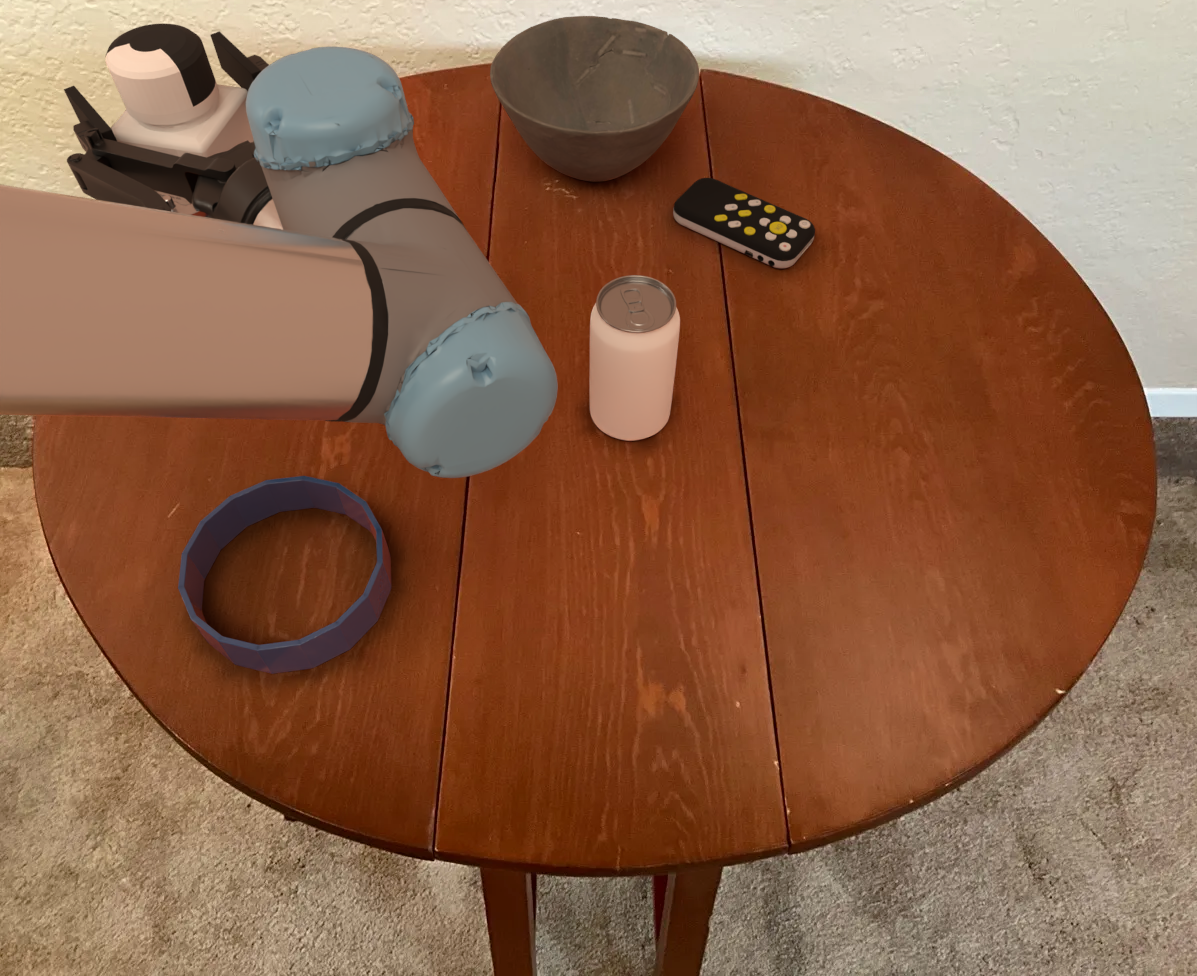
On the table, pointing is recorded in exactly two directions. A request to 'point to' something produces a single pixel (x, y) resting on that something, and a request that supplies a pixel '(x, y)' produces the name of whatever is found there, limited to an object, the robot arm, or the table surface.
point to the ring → (253, 509)
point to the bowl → (594, 92)
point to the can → (633, 357)
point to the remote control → (744, 222)
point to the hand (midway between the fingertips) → (150, 76)
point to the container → (173, 95)
